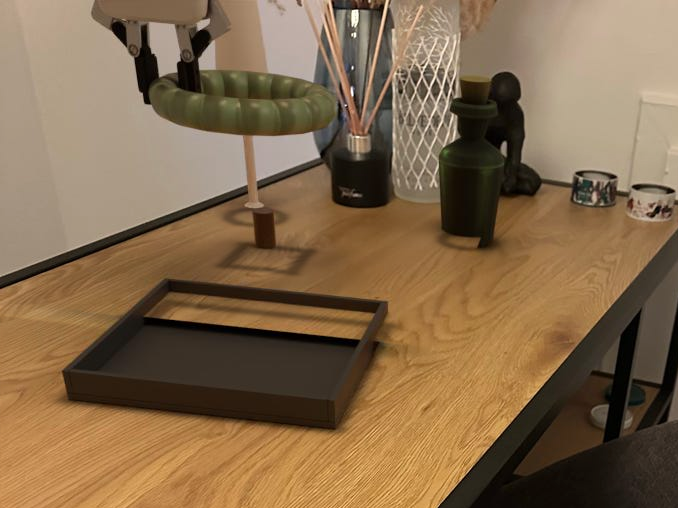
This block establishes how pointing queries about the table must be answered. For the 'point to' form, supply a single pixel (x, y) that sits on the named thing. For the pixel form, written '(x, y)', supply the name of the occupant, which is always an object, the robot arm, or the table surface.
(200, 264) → the table surface
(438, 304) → the table surface
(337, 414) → the tray
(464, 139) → the potion bottle
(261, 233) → the post
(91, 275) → the table surface
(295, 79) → the ring
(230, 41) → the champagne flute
